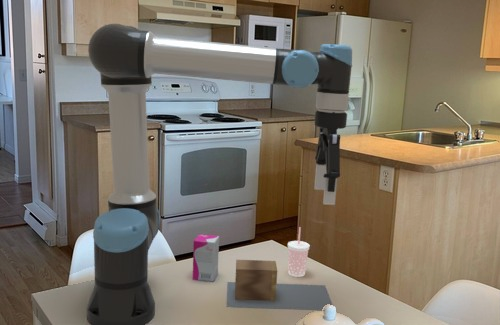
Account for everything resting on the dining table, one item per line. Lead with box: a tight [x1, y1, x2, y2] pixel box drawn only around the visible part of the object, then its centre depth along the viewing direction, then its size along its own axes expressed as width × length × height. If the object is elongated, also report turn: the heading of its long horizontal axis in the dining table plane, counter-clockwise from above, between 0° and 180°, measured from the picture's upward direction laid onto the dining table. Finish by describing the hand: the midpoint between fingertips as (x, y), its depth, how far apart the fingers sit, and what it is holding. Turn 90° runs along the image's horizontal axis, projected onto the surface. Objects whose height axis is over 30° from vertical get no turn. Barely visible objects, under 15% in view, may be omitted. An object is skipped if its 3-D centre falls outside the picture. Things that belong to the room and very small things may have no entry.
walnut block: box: [234, 259, 278, 301], centre depth 130 cm, size 10×6×8 cm, turn 92°
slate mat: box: [226, 281, 333, 311], centre depth 131 cm, size 26×14×1 cm, turn 92°
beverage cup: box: [287, 226, 311, 278], centre depth 144 cm, size 6×6×14 cm
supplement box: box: [192, 233, 220, 283], centre depth 139 cm, size 6×6×12 cm
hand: (323, 196), depth 128 cm, fingers open, 13 cm apart
